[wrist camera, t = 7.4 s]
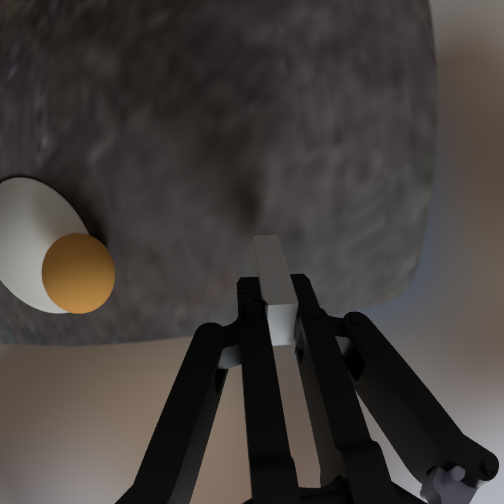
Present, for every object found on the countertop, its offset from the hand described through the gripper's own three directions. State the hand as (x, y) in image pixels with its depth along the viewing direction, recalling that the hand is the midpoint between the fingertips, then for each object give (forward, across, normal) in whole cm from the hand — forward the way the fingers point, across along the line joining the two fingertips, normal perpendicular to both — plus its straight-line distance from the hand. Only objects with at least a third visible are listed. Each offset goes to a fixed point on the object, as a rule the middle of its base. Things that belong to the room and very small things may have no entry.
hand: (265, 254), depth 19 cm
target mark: (+2, -19, 0) cm, 19 cm away
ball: (-1, -13, 0) cm, 13 cm away
